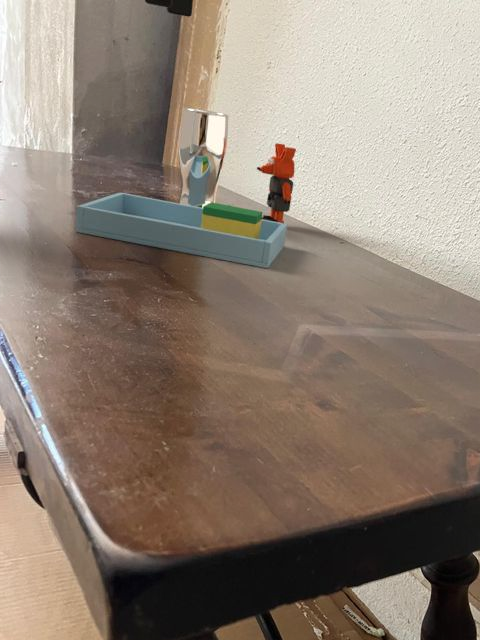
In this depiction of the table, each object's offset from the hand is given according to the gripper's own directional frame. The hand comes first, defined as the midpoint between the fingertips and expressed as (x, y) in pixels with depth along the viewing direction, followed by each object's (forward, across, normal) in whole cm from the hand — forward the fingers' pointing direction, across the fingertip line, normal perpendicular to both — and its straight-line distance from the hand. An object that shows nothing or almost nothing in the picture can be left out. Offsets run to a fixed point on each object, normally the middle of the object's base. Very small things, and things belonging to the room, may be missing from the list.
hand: (169, 10), depth 94 cm
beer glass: (+26, -9, +4) cm, 28 cm away
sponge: (+26, +6, +12) cm, 29 cm away
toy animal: (+26, -15, +14) cm, 34 cm away
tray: (+26, +8, +7) cm, 28 cm away
